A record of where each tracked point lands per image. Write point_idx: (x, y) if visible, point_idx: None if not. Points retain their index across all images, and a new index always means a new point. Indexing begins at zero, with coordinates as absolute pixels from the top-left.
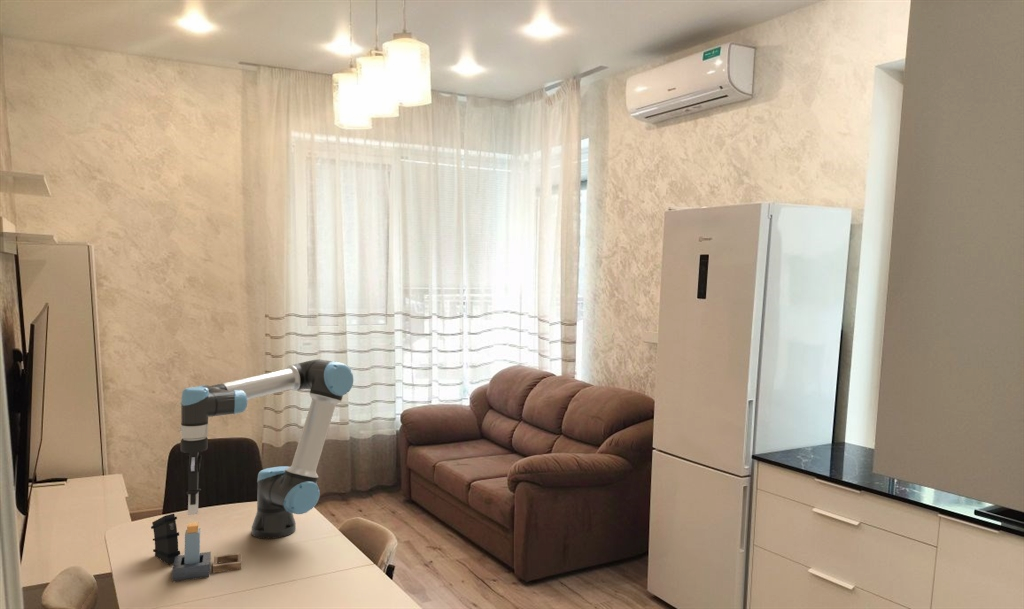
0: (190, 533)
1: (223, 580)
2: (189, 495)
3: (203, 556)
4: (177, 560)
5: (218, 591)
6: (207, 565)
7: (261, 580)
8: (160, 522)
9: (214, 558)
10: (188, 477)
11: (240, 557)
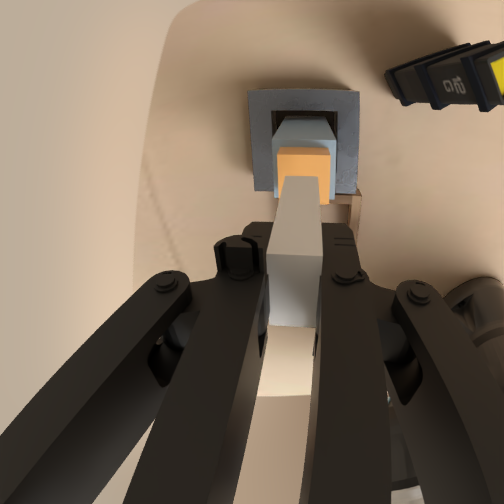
0: (274, 162)
1: (231, 210)
2: (267, 254)
3: None
4: (315, 98)
5: (175, 202)
6: (254, 185)
7: None
8: (485, 48)
9: (344, 196)
10: (14, 423)
11: None
